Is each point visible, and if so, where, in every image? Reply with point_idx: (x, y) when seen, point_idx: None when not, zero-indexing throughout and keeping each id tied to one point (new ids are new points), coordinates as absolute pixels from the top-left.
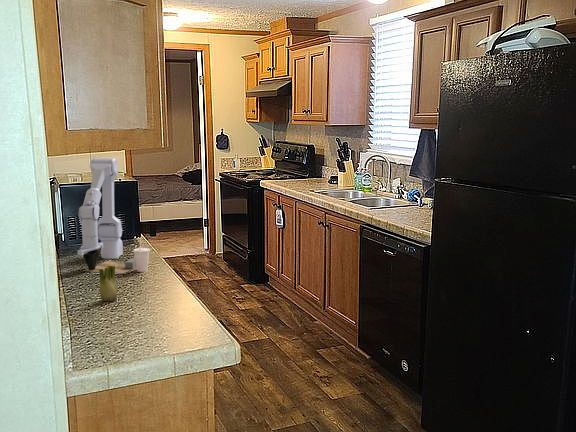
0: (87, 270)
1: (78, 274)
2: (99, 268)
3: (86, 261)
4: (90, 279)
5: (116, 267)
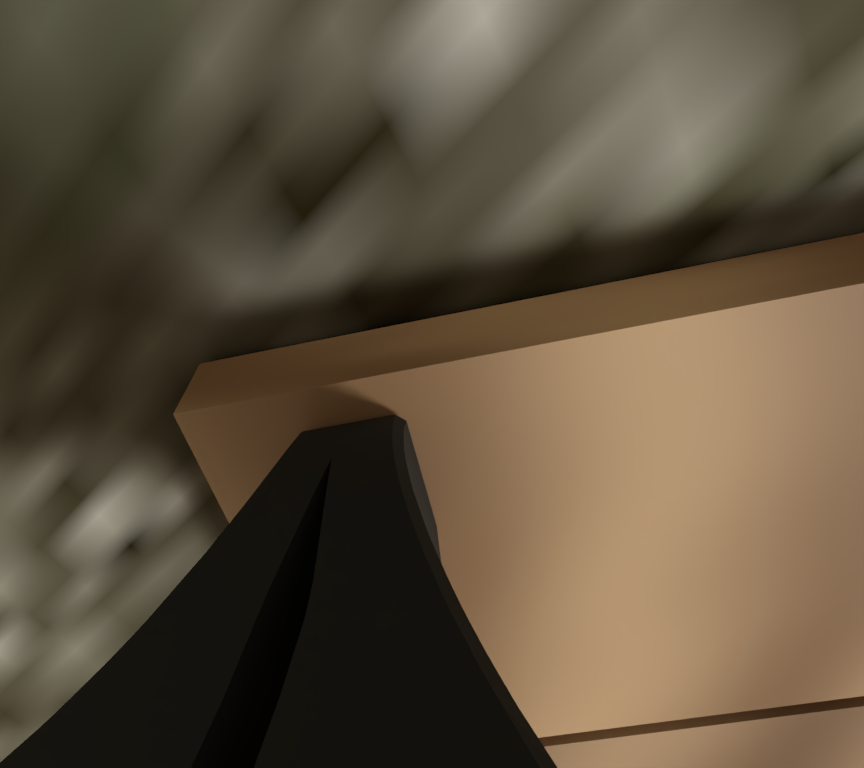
0: (226, 448)
1: (33, 227)
2: (563, 550)
3: (134, 668)
4: (28, 684)
5: (784, 736)
